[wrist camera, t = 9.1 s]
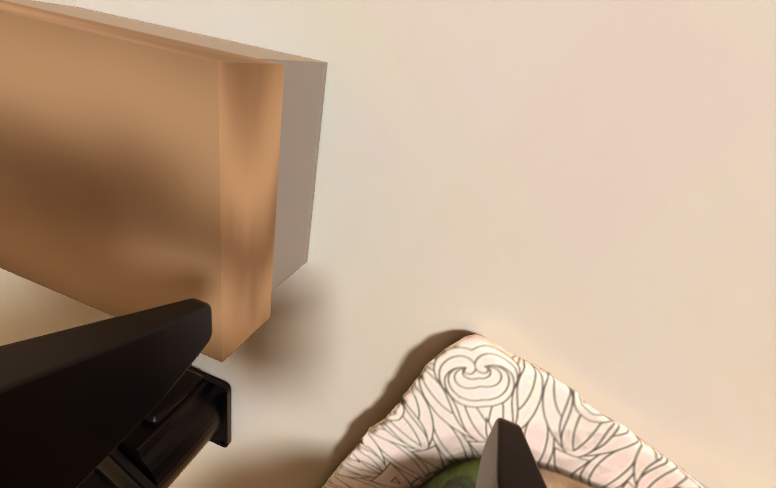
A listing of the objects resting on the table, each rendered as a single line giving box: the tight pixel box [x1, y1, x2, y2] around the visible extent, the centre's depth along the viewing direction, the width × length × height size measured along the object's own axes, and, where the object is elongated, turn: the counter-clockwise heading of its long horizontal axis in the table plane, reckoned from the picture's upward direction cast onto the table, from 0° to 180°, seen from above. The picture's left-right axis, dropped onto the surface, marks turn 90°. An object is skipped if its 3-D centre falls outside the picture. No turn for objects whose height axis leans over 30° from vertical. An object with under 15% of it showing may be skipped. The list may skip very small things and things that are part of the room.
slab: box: [0, 0, 284, 362], centre depth 15 cm, size 10×16×3 cm, turn 79°
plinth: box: [4, 0, 327, 291], centre depth 18 cm, size 10×14×5 cm
